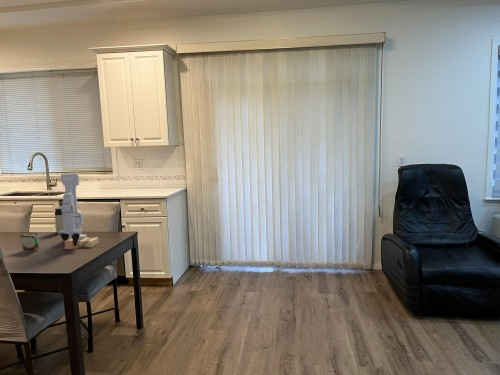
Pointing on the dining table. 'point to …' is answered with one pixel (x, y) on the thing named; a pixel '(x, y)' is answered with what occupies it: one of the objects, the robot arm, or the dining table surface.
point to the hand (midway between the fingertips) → (71, 245)
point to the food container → (30, 242)
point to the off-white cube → (82, 237)
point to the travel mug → (59, 219)
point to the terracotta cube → (70, 244)
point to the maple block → (89, 242)
